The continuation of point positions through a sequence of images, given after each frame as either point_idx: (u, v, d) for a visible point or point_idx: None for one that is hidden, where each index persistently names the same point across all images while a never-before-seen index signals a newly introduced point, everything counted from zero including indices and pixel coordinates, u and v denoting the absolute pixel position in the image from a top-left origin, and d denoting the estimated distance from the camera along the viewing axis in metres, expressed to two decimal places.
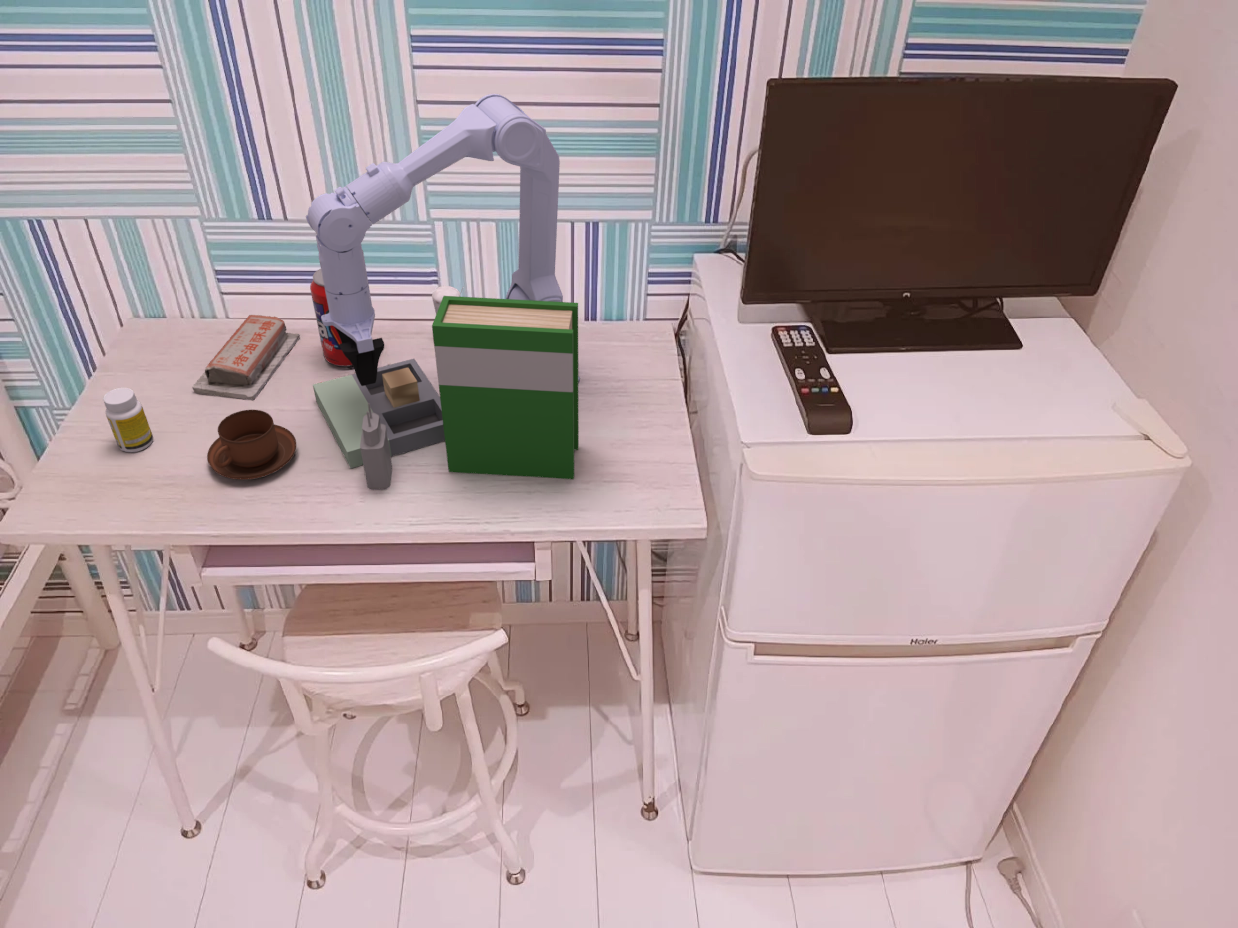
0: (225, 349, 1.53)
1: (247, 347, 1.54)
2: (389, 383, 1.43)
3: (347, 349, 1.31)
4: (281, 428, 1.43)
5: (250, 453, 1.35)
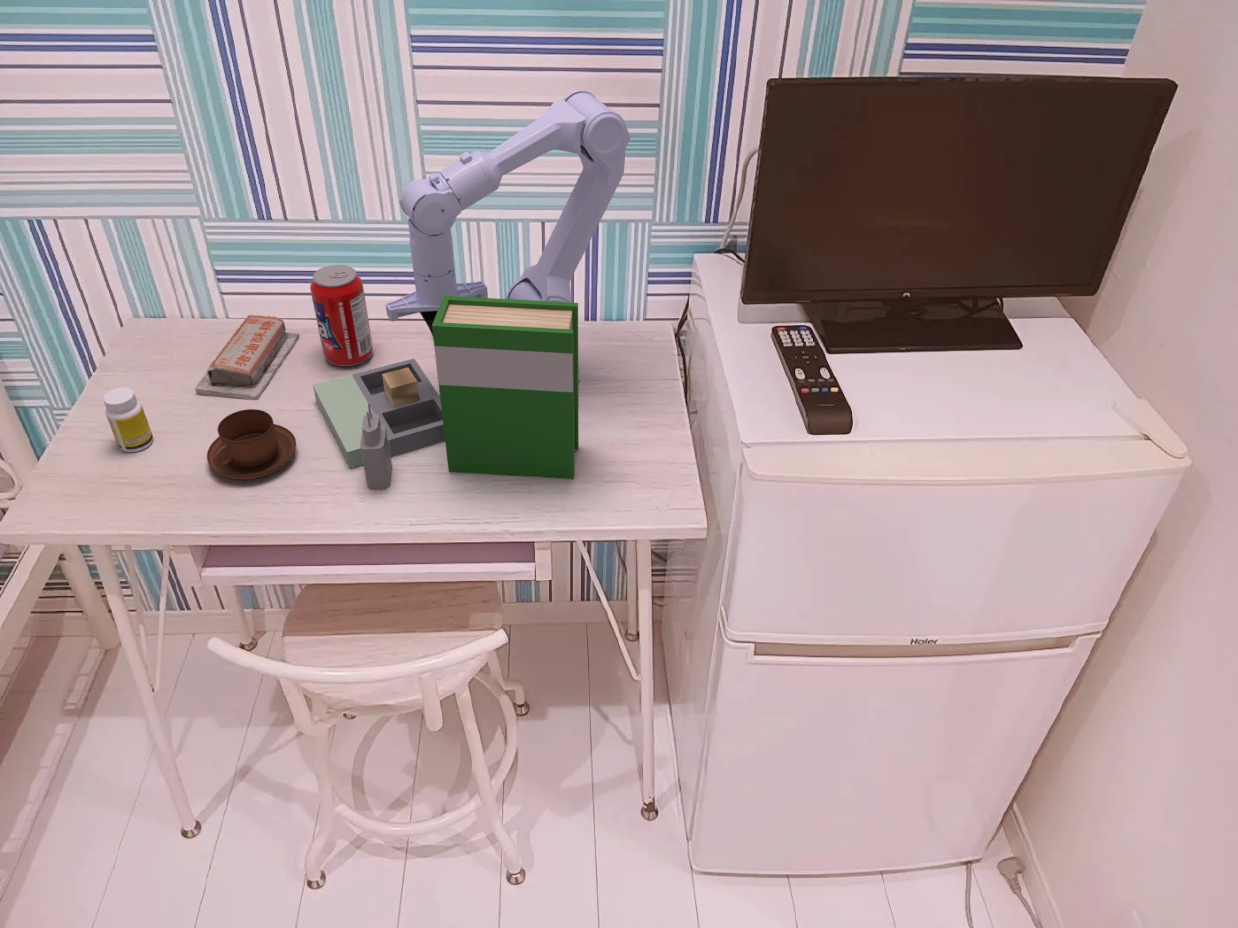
0: (226, 350, 1.53)
1: (248, 347, 1.54)
2: (389, 383, 1.43)
3: None
4: (281, 428, 1.43)
5: (250, 453, 1.35)
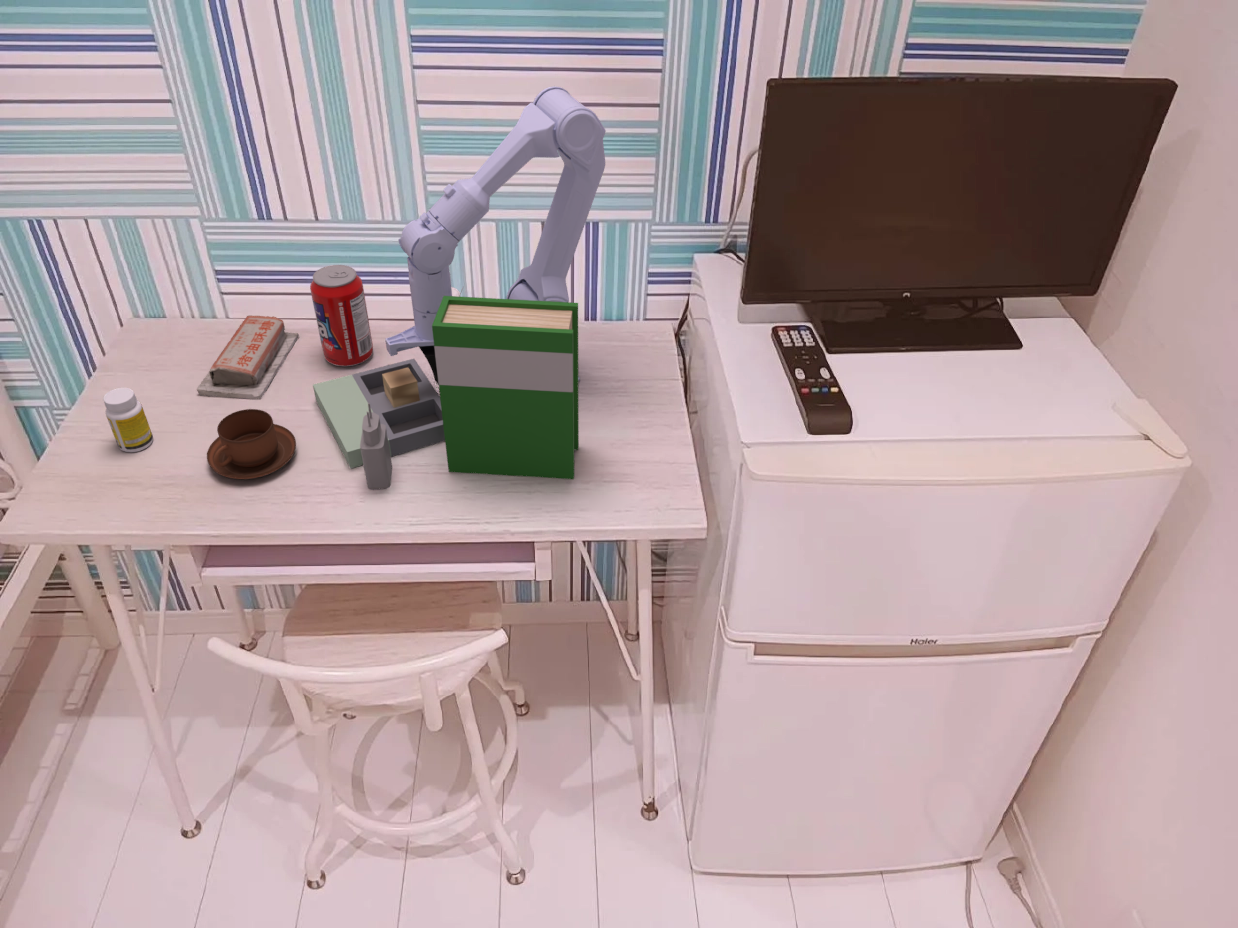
0: (228, 350, 1.53)
1: (249, 347, 1.54)
2: (389, 383, 1.43)
3: None
4: (281, 427, 1.43)
5: (249, 453, 1.35)
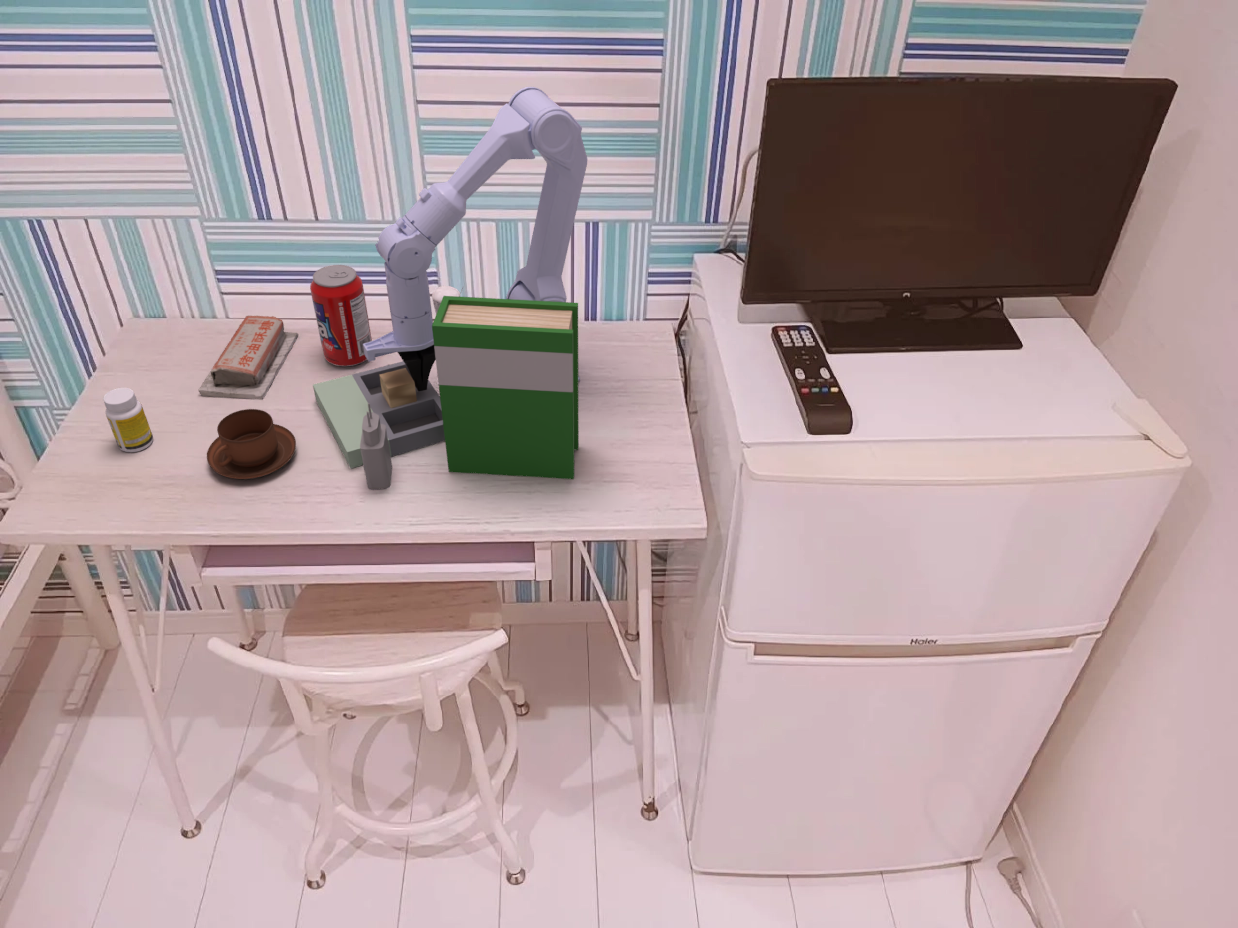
0: (228, 350, 1.53)
1: (250, 348, 1.54)
2: (386, 383, 1.43)
3: None
4: (281, 427, 1.43)
5: (249, 453, 1.35)
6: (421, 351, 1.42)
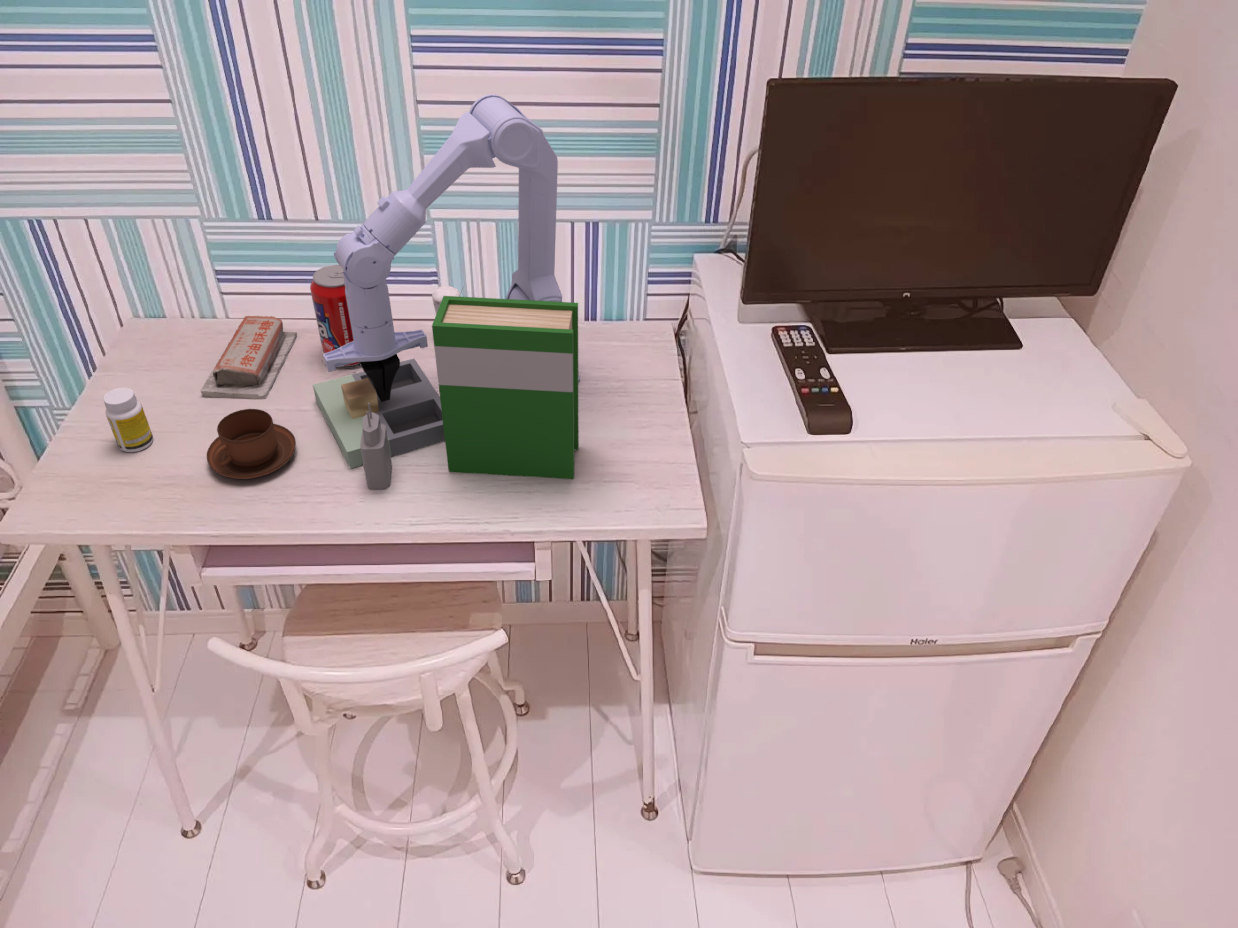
0: (229, 351, 1.53)
1: (251, 348, 1.54)
2: (347, 394, 1.41)
3: None
4: (281, 427, 1.43)
5: (249, 452, 1.35)
6: (383, 361, 1.40)
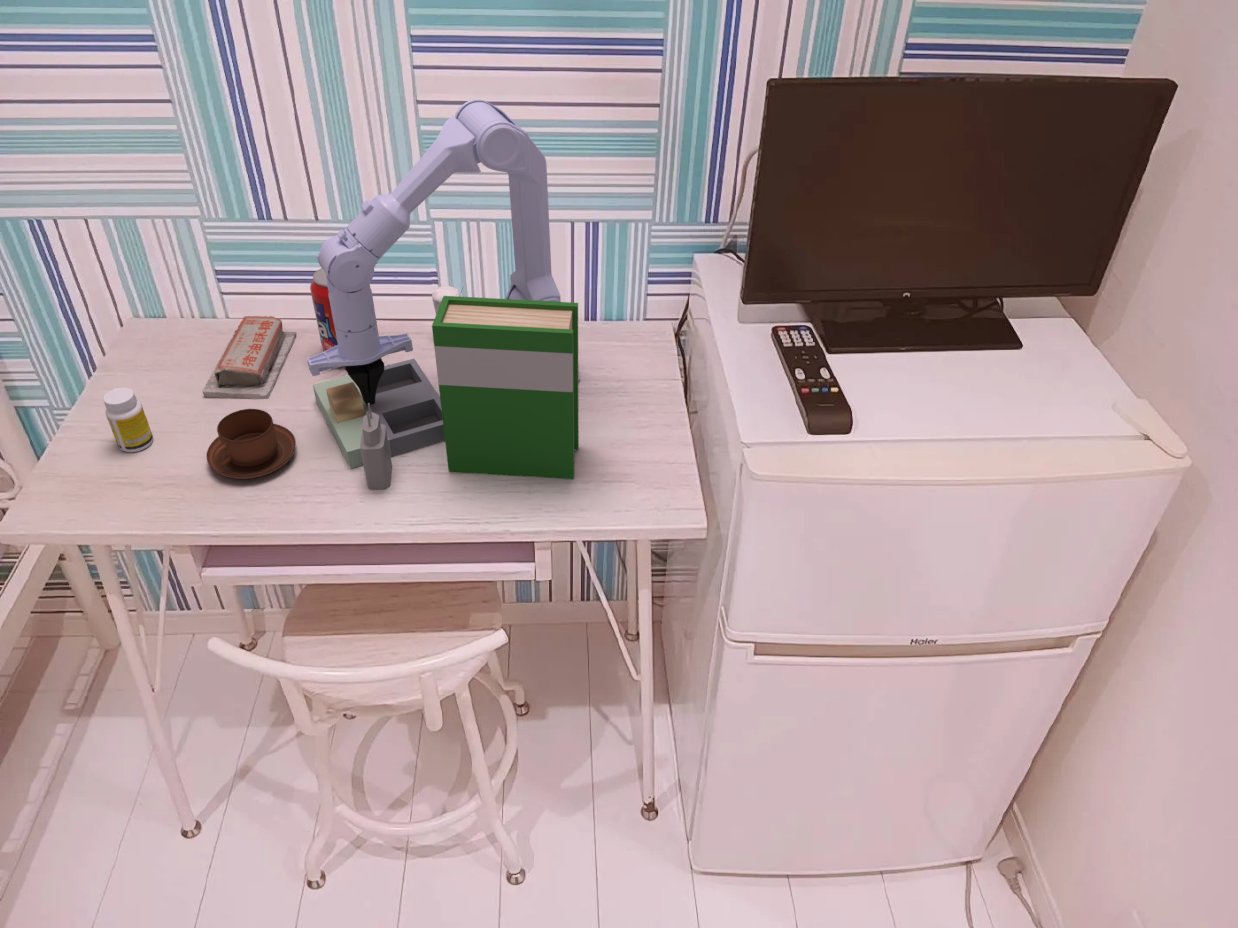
0: (230, 351, 1.53)
1: (252, 348, 1.54)
2: (332, 398, 1.40)
3: None
4: (280, 427, 1.43)
5: (249, 452, 1.35)
6: (367, 365, 1.39)
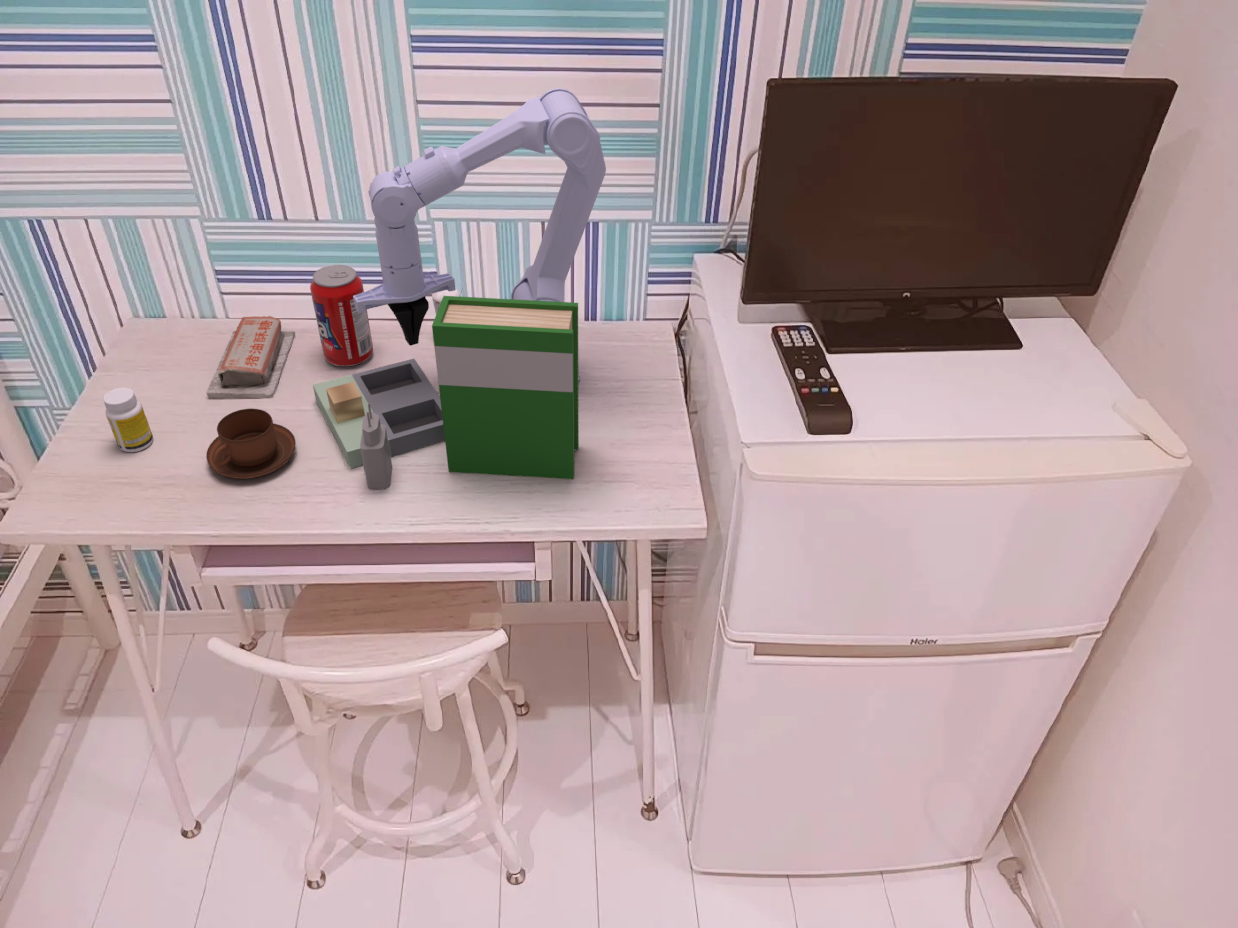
0: (232, 351, 1.53)
1: (254, 348, 1.54)
2: (332, 398, 1.40)
3: None
4: (280, 427, 1.43)
5: (249, 452, 1.35)
6: (412, 303, 1.41)
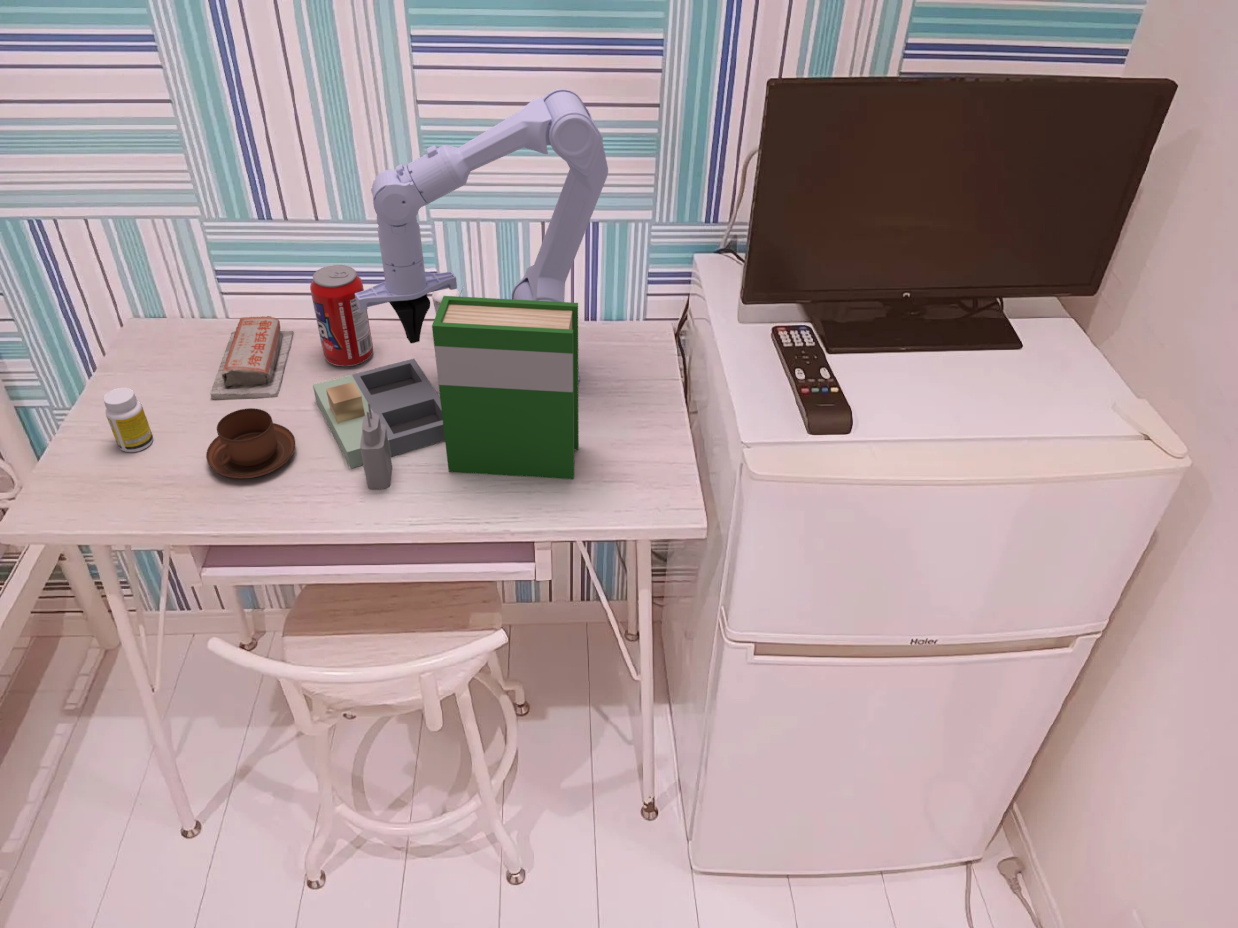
0: (234, 352, 1.53)
1: (255, 347, 1.54)
2: (332, 398, 1.40)
3: None
4: (280, 427, 1.43)
5: (249, 452, 1.35)
6: (413, 301, 1.42)
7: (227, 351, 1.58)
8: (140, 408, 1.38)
